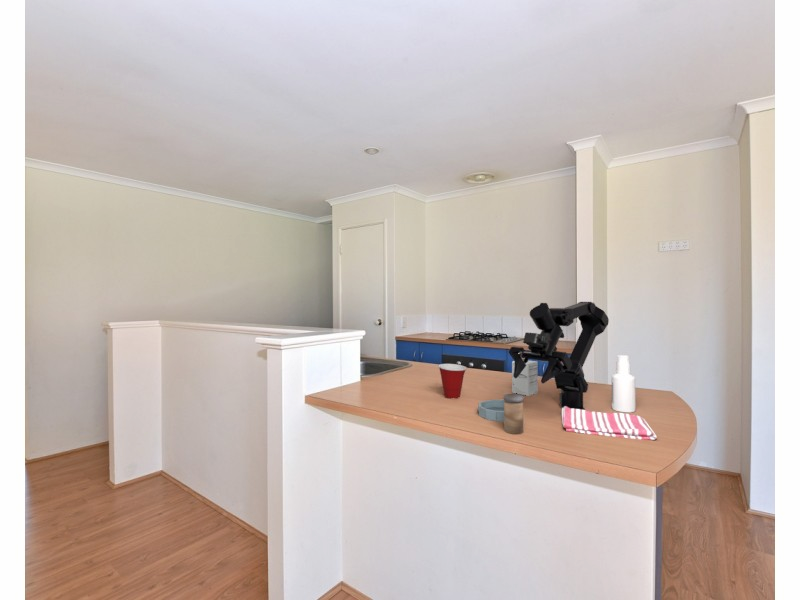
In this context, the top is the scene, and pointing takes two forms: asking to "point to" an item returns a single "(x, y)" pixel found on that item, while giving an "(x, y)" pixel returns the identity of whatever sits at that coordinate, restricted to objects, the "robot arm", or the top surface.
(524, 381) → the supplement box
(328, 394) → the top surface
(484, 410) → the bowl
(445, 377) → the plastic cup
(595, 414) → the dish towel
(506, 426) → the walnut jar
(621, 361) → the spray bottle
